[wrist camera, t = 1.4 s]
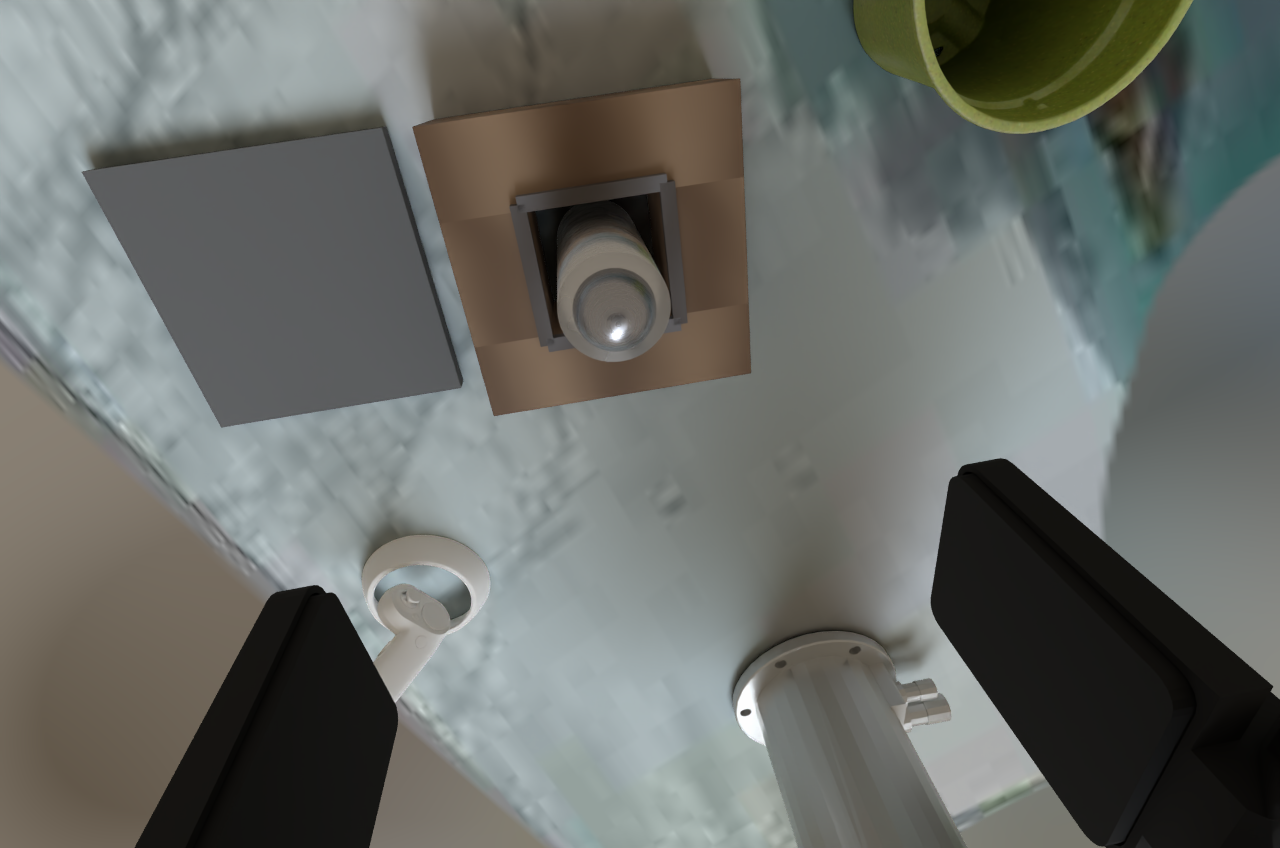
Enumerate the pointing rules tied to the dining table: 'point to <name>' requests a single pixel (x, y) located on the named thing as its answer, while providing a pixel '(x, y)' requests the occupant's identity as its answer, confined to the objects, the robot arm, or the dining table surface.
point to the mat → (286, 273)
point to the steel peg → (608, 284)
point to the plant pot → (1018, 52)
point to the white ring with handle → (418, 603)
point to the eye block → (582, 173)
